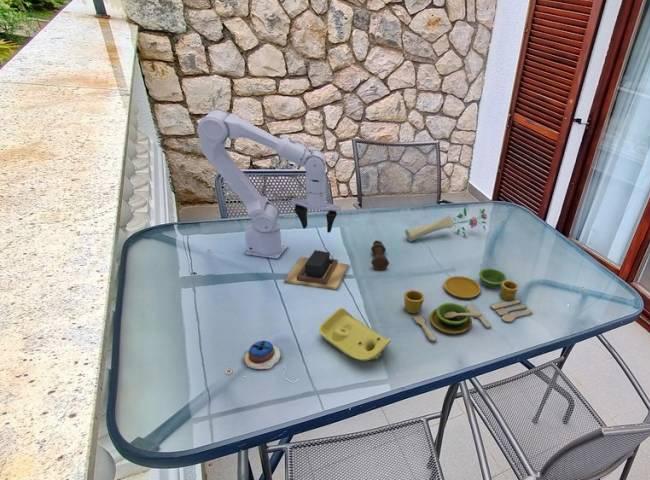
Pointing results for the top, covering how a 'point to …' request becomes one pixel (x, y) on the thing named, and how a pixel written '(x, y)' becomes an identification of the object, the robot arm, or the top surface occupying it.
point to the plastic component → (352, 336)
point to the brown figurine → (379, 256)
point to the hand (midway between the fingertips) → (317, 229)
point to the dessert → (262, 355)
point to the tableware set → (457, 316)
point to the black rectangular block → (317, 264)
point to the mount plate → (328, 280)
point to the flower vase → (441, 226)
